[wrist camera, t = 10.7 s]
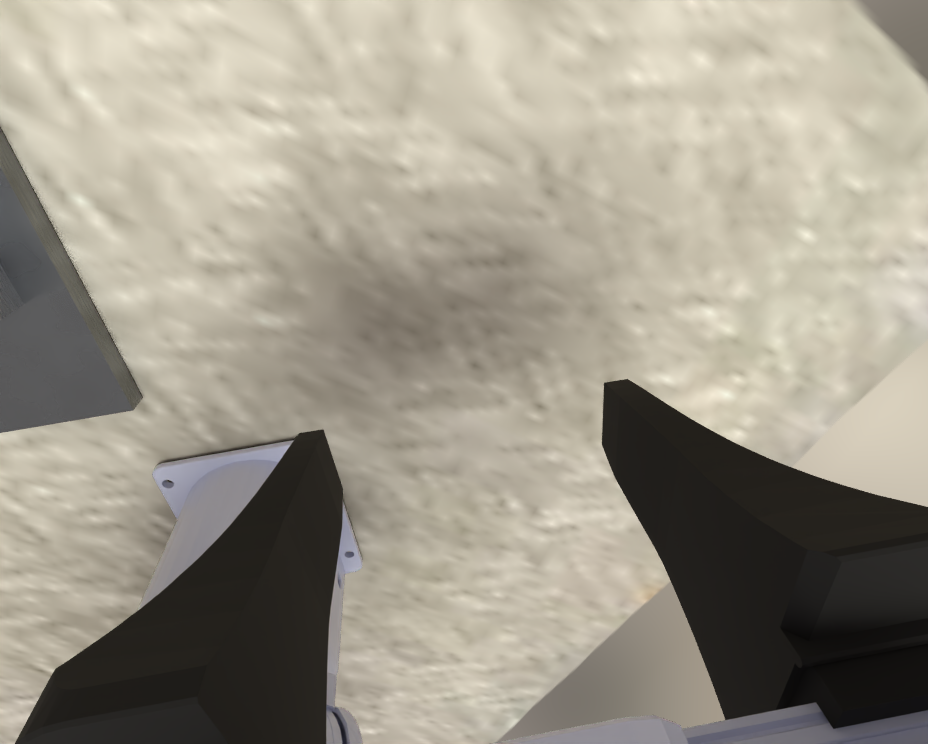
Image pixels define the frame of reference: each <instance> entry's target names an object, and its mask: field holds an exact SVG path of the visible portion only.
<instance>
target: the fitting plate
mask: <svg viewBox="0 0 928 744" xmlns="http://www.w3.org/2000/svg"><path fill="white" fill-rule="evenodd" d="M141 399H142V395H141V394H140V392H139V390H138V388H137V386H136V384H135V382H134V380H133V378H132V376H131V375H130V373H129V371H128V369H127V367H126V365H125V363H124V361H123V359H122V358H121V356H120V354H119V352H118V350H117V348H116V346H115V344H114V342H113V340H112V339H111V337H110V335H109V333H108V331H107V329H106V327H105V325H104V323H103V322H102V320H101V318H100V316H99V314H98V312H97V310H96V308H95V306H94V304H93V303H92V301H91V299H90V297H89V295H88V293H87V291H86V289H85V287H84V285H83V284H82V282H81V280H80V278H79V276H78V274H77V272H76V270H75V268H74V267H73V265H72V263H71V261H70V259H69V257H68V255H67V253H66V251H65V249H64V248H63V246H62V244H61V242H60V240H59V238H58V236H57V234H56V232H55V231H54V229H53V227H52V225H51V223H50V221H49V219H48V217H47V215H46V213H45V212H44V210H43V208H42V206H41V204H40V202H39V200H38V198H37V196H36V194H35V193H34V191H33V189H32V187H31V185H30V183H29V181H28V179H27V177H26V176H25V174H24V172H23V170H22V168H21V166H20V164H19V162H18V160H17V158H16V157H15V155H14V153H13V151H12V149H11V147H10V145H9V143H8V141H7V139H6V138H5V136H4V134H3V132H2V130H1V128H0V433H2V432H8V431H14V430H20V429H26V428H32V427H37V426H43V425H49V424H55V423H61V422H67V421H73V420H79V419H85V418H90V417H96V416H102V415H108V414H114V413H120V412H126V411H132V410H134V409H135V407H136V406H137V404H138V403H139V402H140V400H141Z"/></svg>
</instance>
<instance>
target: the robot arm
mask: <svg viewBox="0 0 928 744" xmlns="http://www.w3.org/2000/svg"><path fill="white" fill-rule="evenodd" d="M602 446H603V448H604V451H605V454H606V456H607V459H608V461H609V464H610V466H611V469H612V471H613V474H614V476H615V478H616V480H617V482H618V484H619V485H620V487H621V489H622V491H623V493H624V494H625V496H626V498H627V500H628V502H629V503H630V505H631V507H632V509H633V510H634V512H635V514H636V516H637V517H638V519H639V521H640V523H641V524H642V526H643V528H644V530H645V531H646V533H647V535H648V537H649V538H650V540H651V542H652V544H653V545H654V547H655V549H656V551H657V553H658V555H659V557H660V559H661V561H662V562H663V564H664V567H665V569H666V571H667V573H668V576H669V578H670V580H671V583H672V585H673V587H674V589H675V592H676V594H677V596H678V599H679V601H680V603H681V606H682V608H683V610H684V613H685V615H686V618H687V620H688V623H689V625H690V627H691V630H692V632H693V635H694V637H695V640H696V642H697V645H698V647H699V650H700V653H701V655H702V658H703V660H704V663H705V665H706V668H707V670H708V673H709V676H710V678H711V681H712V684H713V686H714V689H715V692H716V695H717V697H718V700H719V703H720V706H721V708H722V711H723V714H724V717H725V720H724V721H719V722H714V723H709V724H704V725H699V726H694V727H688V728H683V729H682V728H681V725H679V724H677V723H675V722H673V721H670V720H667V719H664V718H661V717H658V716H655V715H650V716H635V717H624V718H619V719H614V720H609V721H604V722H598V723H594V724H588V725H584V726H578V727H573V728H568V729H563V730H558V731H553V732H547V733H542V734H537V735H532V736H527V737H522V738H516V739H511V740H506V741H501V742H496V743H491V744H928V507H925V506H921V505H917V504H913V503H908V502H904V501H900V500H896V499H892V498H887V497H883V496H878V495H875V494H871V493H868V492H864V491H860V490H857V489H854V488H851V487H847V486H844V485H840V484H837V483H834V482H831V481H828V480H825V479H822V478H819V477H816V476H813V475H810V474H808V473H805V472H802V471H799V470H797V469H794V468H791V467H789V466H786V465H783V464H781V463H778V462H776V461H774V460H771V459H769V458H766V457H764V456H762V455H760V454H758V453H755V452H753V451H751V450H749V449H746V448H744V447H742V446H740V445H738V444H736V443H734V442H732V441H730V440H728V439H726V438H724V437H722V436H720V435H719V434H717V433H715V432H713V431H711V430H709V429H707V428H706V427H704V426H702V425H700V424H699V423H697V422H695V421H694V420H692V419H690V418H688V417H687V416H685V415H684V414H682V413H680V412H679V411H677V410H675V409H674V408H672V407H671V406H669V405H667V404H666V403H664V402H663V401H661V400H660V399H658V398H657V397H655V396H654V395H652V394H650V393H649V392H647V391H646V390H644V389H643V388H641V387H640V386H638V385H636V384H635V383H633V382H632V381H630V380H628V379H625V380H619V381H613V382H607V383H604V402H603V429H602ZM152 475H153V478H154V480H155V482H156V483H157V485H158V487H159V489H160V490H161V492H162V494H163V496H164V497H165V499H166V501H167V503H168V504H169V506H170V508H171V510H172V511H173V513H174V515H175V517H176V518H177V521H176V524H175V526H174V528H173V530H172V533H171V535H170V537H169V539H168V542H167V544H166V546H165V549H164V551H163V553H162V555H161V558H160V560H159V562H158V564H157V567H156V569H155V571H154V574H153V576H152V578H151V580H150V583H149V585H148V587H147V589H146V592H145V594H144V596H143V598H142V601H141V603H140V605H139V608H138V610H137V612H136V613H134V614H133V615H132V616H130V617H129V618H128V619H126V620H125V621H124V622H123V623H121V624H120V625H119V626H117V627H116V628H114V629H113V630H112V631H110V632H109V633H108V634H106V635H105V636H103V637H102V638H100V639H99V640H98V641H96V642H95V643H93V644H92V645H90V646H89V647H87V648H86V649H85V650H83V651H82V652H80V653H79V654H77V655H76V656H74V657H73V658H71V659H70V660H69V661H67V662H66V663H64V664H63V665H61V666H59V667H58V668H56V669H55V671H54V673H53V674H52V676H51V678H50V679H49V681H48V683H47V685H46V687H45V688H44V690H43V692H42V694H41V696H40V698H39V700H38V701H37V703H36V705H35V707H34V709H33V711H32V713H31V715H30V716H29V718H28V720H27V722H26V724H25V726H24V728H23V730H22V731H21V733H20V735H19V737H18V739H17V741H16V743H15V744H363V741H362V737H361V733H360V729H359V726H358V724H357V722H356V720H355V718H354V717H353V715H352V714H351V713H350V712H349V711H347V710H345V709H344V708H340V707H335V694H336V680H337V673H338V666H339V653H340V638H341V623H342V608H343V593H344V579H345V574H346V573H351V572H356V571H358V570H360V569H361V568H362V557H361V554H360V551H359V548H358V545H357V542H356V539H355V536H354V533H353V529H352V526H351V523H350V520H349V517H348V514H347V511H346V508H345V505H344V502H343V488H342V485H341V482H340V479H339V476H338V473H337V470H336V467H335V464H334V461H333V458H332V454H331V451H330V448H329V445H328V442H327V439H326V436H325V433H324V430H317V431H311V432H305V433H299V434H298V436H297V437H296V438H295V440H291V441H286V442H280V443H274V444H269V445H263V446H257V447H252V448H246V449H240V450H235V451H229V452H223V453H218V454H212V455H206V456H201V457H195V458H189V459H184V460H178V461H172V462H167V463H161V464H159V465H157V466H156V467H155V469H154V471H153V474H152ZM166 480H170V481H172V482H173V483H170V482H167V481H166ZM348 551H351V552H348Z"/></svg>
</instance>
